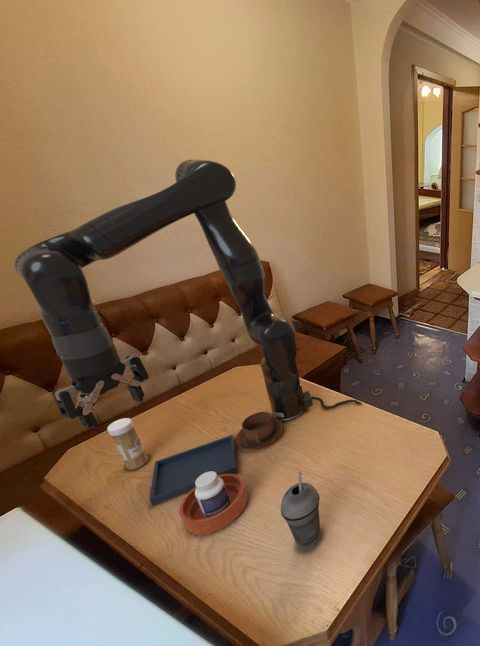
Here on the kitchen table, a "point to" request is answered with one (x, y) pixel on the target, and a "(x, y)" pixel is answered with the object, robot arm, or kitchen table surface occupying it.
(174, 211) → the robot arm
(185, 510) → the bowl
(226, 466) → the tray
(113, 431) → the sprinkles bottle
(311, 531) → the beverage cup
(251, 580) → the kitchen table surface
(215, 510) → the pill bottle
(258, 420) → the cup and saucer
